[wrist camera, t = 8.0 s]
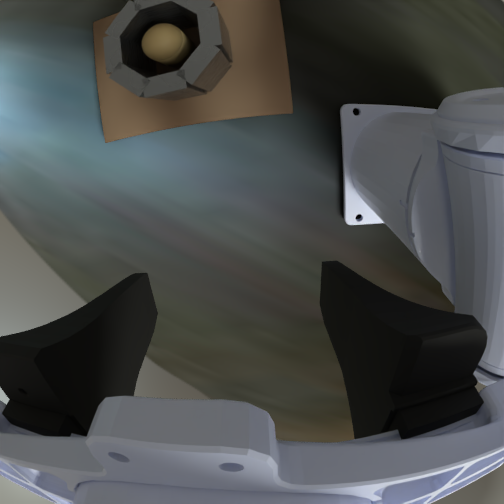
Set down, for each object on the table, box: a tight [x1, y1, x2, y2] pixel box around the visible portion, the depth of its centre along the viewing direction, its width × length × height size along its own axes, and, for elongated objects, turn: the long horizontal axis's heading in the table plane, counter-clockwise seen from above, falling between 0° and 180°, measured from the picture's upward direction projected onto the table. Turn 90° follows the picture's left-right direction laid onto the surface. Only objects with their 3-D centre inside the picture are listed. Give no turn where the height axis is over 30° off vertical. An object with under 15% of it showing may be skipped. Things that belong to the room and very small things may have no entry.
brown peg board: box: [93, 0, 293, 143], centre depth 13 cm, size 12×9×6 cm
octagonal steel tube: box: [103, 0, 233, 101], centre depth 13 cm, size 6×6×5 cm
